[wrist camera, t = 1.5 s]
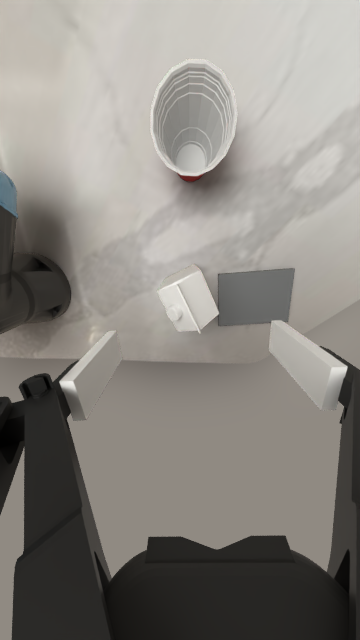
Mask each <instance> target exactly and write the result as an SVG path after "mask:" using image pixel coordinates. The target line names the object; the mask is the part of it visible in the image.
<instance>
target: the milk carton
mask: <svg viewBox="0 0 360 640" xmlns="http://www.w3.org/2000/svg"><path fill="white" fill-rule="evenodd" d="M157 294H158V296H159V298H160V299H161V301H162V303H163V305H164V307H165V309H166V313H167V316H168V317H169V318H170V319H171V320H172V322H173V324H174V326H175V328H176V330H177V331H178V332H182V331H198V332H199V334H200V333H201V332H200V330H201V329H202V328H203V327H204V326H206V325H207V324H208V323H209V322H210V321H211V320H212V319H214V318H215V317H216V316H217V315H218V314H219V311H218V309H217V306H216V304H215V302H214V299H213V297H212V295H211V292H210V290H209V288H208V285H207V283H206V281H205V278H204V276H203V274H202V272H201V270H200V269H199V268H198V267H197V266H196V265H195V264H193V265H191V266H189V267H187V268H185V269H183V270H181V271H179V272H177V273H175V274H173V275H171V276H169V277H167V278H165V280H164V281H163V283H162V284H161V286H160V287H159V288H158V290H157Z"/></svg>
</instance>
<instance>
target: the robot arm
mask: <svg viewBox="0 0 360 640" xmlns="http://www.w3.org/2000/svg"><path fill="white" fill-rule="evenodd" d="M16 202H17V191H16V187H15V185H14V183H13V182H12V180H11V179H10V178H9V177H8V176H7V175H6V174H5V173H4V172H2V171H1V170H0V334H2V333H4V332H6V331H8V330H10V329H12V328H14V327H17V326H19V325H21V324H23V323H35V322H45V321H49V320H52V319H54V318H56V317H58V316H60V315H61V314H62V313H64V312H65V310H66V309H67V308H68V306H69V303H70V298H71V291H70V286H69V283H68V280H67V278H66V276H65V275H64V273H63V272H62V270H61V269H60V268H59V267H58V266H57V265H56V264H55V263H54V262H52V261H51V260H49V259H48V258H46V257H44V256H42V255H39V254H35V253H14V254H13V251H14V240H15V229H16V218H18V214H17V213H16ZM269 351H270V352H271V353H272V354H273V355H274V357H275V358H276V359H277V360H278V361H279V362H280V363H281V365H282V366H283V367H284V368H285V369H286V370H287V371H288V373H289V374H290V375H291V376H292V377H293V379H295V381H296V382H297V383H298V384H299V385H300V387H301V388H302V389H303V390H304V391H305V392H306V394H307V395H308V396H309V397H310V398H311V399H312V400H313V402H314V403H315V404H316V405H317V406H318V407H319V408H320V409H321V410H336V407H337V404H338V401H339V402H340V403H341V404H342V405H343V406H344V410H343V413H342V417H341V420H340V423H341V424H342V428H341V440H340V451H339V463H338V476H337V488H336V500H335V511H334V523H333V536H332V547H331V554H330V560H329V565H328V570H327V572H326V571H324V570H323V569H322V568H321V567H320V566H318V565H317V564H316V563H314V562H313V561H311V560H310V559H308V558H307V557H305V556H303V555H301V554H299V553H297V552H295V551H293V550H290V547H289V545H288V542H287V539H286V536H250V537H247V538H245V539H243V540H240V541H238V542H236V543H233V544H231V545H229V546H226V547H224V548H222V549H218V550H216V549H212V548H210V547H207V546H204V545H202V544H199V543H197V542H194V541H191V540H188V539H186V538H183V537H149V538H148V546H147V550H146V551H143V552H141V553H140V554H138V555H136V556H135V557H133V558H132V559H131V560H129V561H128V562H127V563H126V564H125V565H124V566H123V567H122V568H121V569H120V570H119V571H118V572H117V573H116V574H115V575H114V577H113V578H111V575H110V572H109V569H108V566H107V563H106V560H105V557H104V553H103V550H102V546H101V543H100V539H99V535H98V532H97V528H96V524H95V520H94V517H93V513H92V509H91V506H90V502H89V499H88V495H87V491H86V488H85V484H84V480H83V476H82V473H81V469H80V465H79V461H78V458H77V454H76V451H75V447H74V443H73V439H72V436H71V432H70V428H69V425H68V422H67V417H68V416H69V414H70V413H71V415H72V418H73V420H74V421H77V420H87V418H88V417H89V415H90V413H91V411H92V410H93V408H94V406H95V405H96V403H97V401H98V399H99V398H100V396H101V394H102V393H103V391H104V389H105V387H106V386H107V384H108V382H109V381H110V379H111V377H112V375H113V373H114V372H115V370H116V369H117V367H118V365H119V363H120V362H121V360H122V353H121V348H120V344H119V339H118V334H117V331H108V332H107V333H106V334H105V335H104V336H103V337H102V338H101V339H100V340H99V341H98V342H97V343H96V344H95V345H94V346H93V347H92V348H91V349H90V350H89V351H88V352H87V353H86V354H85V355H84V356H83V357H82V358H81V360H78V361H76V362H74V363H73V364H71V365H70V366H69V367H68V368H67V369H66V370H65V371H64V372H63V373H62V374H61V375H60V376H59V377H58V378H57V379H56V380H55V381H54V382H53V383H52V380H51V377H50V375H49V374H46V373H44V374H38V375H34V376H33V377H30V378H28V379H27V380H25V381H23V382H22V383H21V384H20V386H19V389H20V391H21V393H22V395H23V398H24V400H23V401H19V402H15V403H11V401H10V399H9V398H8V397H0V514H1V512H2V509H3V506H4V503H5V500H6V497H7V494H8V491H9V489H10V486H11V482H12V480H13V477H14V474H15V471H16V468H17V466H18V463H19V460H20V457H21V454H22V451H23V448H24V446H25V459H24V461H25V462H24V464H25V465H24V466H25V467H24V468H25V469H24V473H25V475H24V478H25V479H24V551H23V555H21V556H20V557H19V558H18V559H17V562H16V565H15V573H14V592H13V594H14V595H13V620H12V622H13V623H12V640H360V370H359V369H357V368H356V367H354V366H353V365H352V364H350V363H349V362H347V361H346V360H344V359H342V358H341V357H340V356H338V355H336V354H335V353H334V352H332V351H331V350H329V349H326V348H324V347H322V346H317V345H316V344H315V343H313V342H312V341H310V340H309V339H307V338H306V337H305V336H303V335H302V334H300V333H299V332H297V331H296V330H295V329H293V328H292V327H290V326H289V325H287V324H286V323H284V322H283V321H282V320H274V321H271V331H270V342H269Z"/></svg>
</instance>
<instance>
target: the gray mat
mask: <svg viewBox="0 0 360 640" xmlns="http://www.w3.org/2000/svg"><path fill="white" fill-rule="evenodd" d="M294 271H295V269H294V268H290V269H277V270H264V271H251V272H238V273H225V274H218V311H219V314H218V325H219V326H227V325H243V324H258V323H271V321H274V320H282V321H283V322H288V316H289V309H290V301H291V294H292V286H293V279H294Z"/></svg>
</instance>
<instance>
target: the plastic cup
mask: <svg viewBox="0 0 360 640" xmlns="http://www.w3.org/2000/svg"><path fill="white" fill-rule="evenodd" d="M237 114H238V112H237V106H236V100H235V94H234V89H233V88H232V86H231V84H230V82H229V80H228V79H227V77H226V75H225V73H224V72H223V70H221V69H220V68H218V67H217V66H215V65H214V64H213V63H211V62H210V61H208V60H207V59H187V60H185V61H183V62H181V63H180V64H178V65H176V66H174V67H172V68H171V69H170V70H169V71H168V73H167V74H166V75H165V77H164V78H163V79H162V81H161V82H160V84H159V85H158V86H157V89H156V92H155V96H154V99H153V102H152V106H151V109H150V132H151V136H152V139H153V142H154V145H155V149H156V152H157V153H158V155H159V156H160V158H161V159H162V160H163V162H164V163H165V164H166V166H167V167H168V168H170V169H172V170H173V171H175V172H177V174H178V175H179V176H180V178H182V179H183V180H185V181H190V182H193V181H195V180H198V179H199V178H200V177H201V176H202V175H203V174H204V173H205V172H208V171H210V170H212V169H213V168H214V167H215V166H216V165H217V164H218V163H219V162H220V161H221V160H222V159H223V158H224V157H225V156H226V153H227V151H228V149H229V147H230V145H231V143H232V140H233V138H234V136H235V129H236V121H237Z"/></svg>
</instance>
